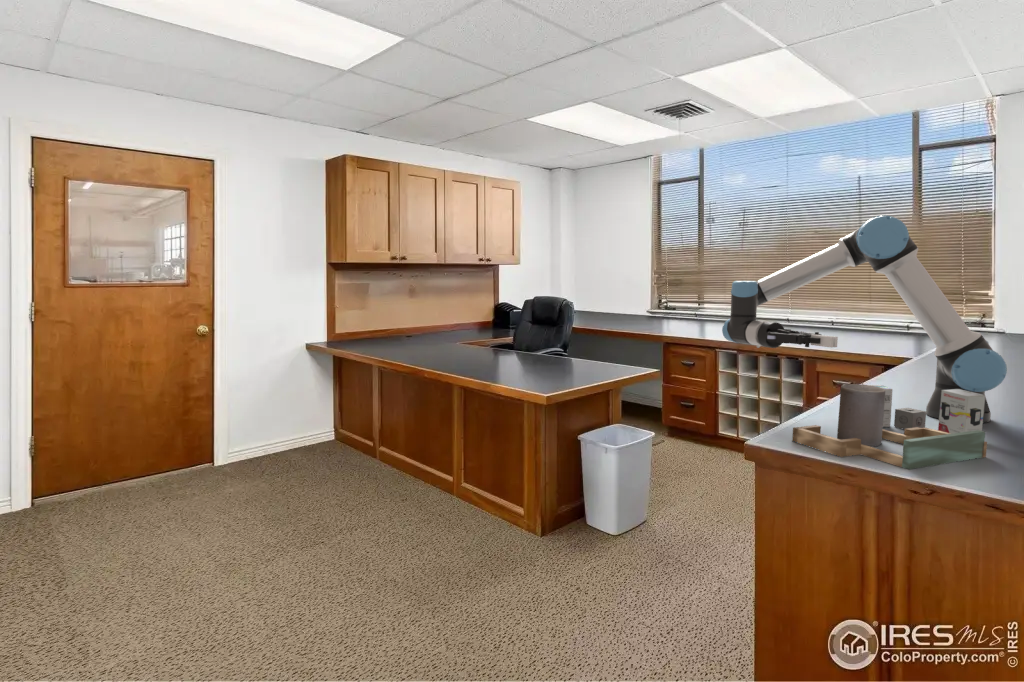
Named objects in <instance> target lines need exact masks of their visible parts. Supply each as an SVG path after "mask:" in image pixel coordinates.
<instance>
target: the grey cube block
mask: <svg viewBox="0 0 1024 682" xmlns="http://www.w3.org/2000/svg"><path fill="white" fill-rule="evenodd" d="M926 418H927V414H926V410H920V409H916V408H912V407H911V408H910V407H902V408H895V409H894V421H893V422H894V424H893V427H894V426H895V427H894V428H897V427H899V428H898V429H901V428H903V429H902V430H905V429H907V428H915V427H919V428H926V420H927V419H926Z"/></svg>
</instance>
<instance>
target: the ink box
mask: <svg viewBox="0 0 1024 682" xmlns="http://www.w3.org/2000/svg"><path fill="white" fill-rule="evenodd" d="M985 396H986V395H985ZM985 396H984V395H982V394H978V393H974V392H970V391H965V390H961V389H951V390H942V393H941V404H940V415H939V418H938V425H937V426H938V427H937V430H938V431H942V432H947V433H951V434H952V433H960V432H967V431H975V430H980V431H983V424H984V423H983V414H984V404H985Z"/></svg>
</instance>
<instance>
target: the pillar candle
mask: <svg viewBox="0 0 1024 682" xmlns="http://www.w3.org/2000/svg"><path fill="white" fill-rule="evenodd" d="M870 385H871V384H864V382H861V383H848V384H845V385H843V384H842V385H840V392H839V395H840V396H839V410H838V420H837V421H838V422H837V433H836V438H837V439H840V440H843V439H851V438H857V439H861V444H863V445H866V446H870V447H873V448H876V447H879V446H881V445H882V442H883V441H882V440H883V439H882V429H884V428H883V417H884V403H885V391H886V390H885V389H884V388H880V387H876V386H870Z"/></svg>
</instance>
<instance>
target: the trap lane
mask: <svg viewBox="0 0 1024 682" xmlns="http://www.w3.org/2000/svg"><path fill="white" fill-rule="evenodd" d="M821 429H822V426H820V425H819V424H818V425H817V424H813V425H806V426H797V427H792V440H791V441H792V442H793V441H795V442H794V443H796V442H798V443H797V444H799V443H801V444H800V445H802V444H804V445H803V446H805V445H807V446H806V447H808V446H810V447H809V448H811V447H813V448H812V449H814V448H816V449H815V450H817V449H819V450H818V451H821V450H822V451H821V452H824V451H826V452H825V453H827V452H828V454H830V453H831V454H830V455H833V454H834V455H833V456H836V455H837V457H839V456H840V457H839V458H845V457H851V456H852V455H853V456H858V455H859V456H865V457H867V458H870V459H875V460H878V461H881V462H884V463H887V464H891V465H893V466H897V467H900V468H902V469H907V470H913V469H918V468H925V467H932V466H938V465H945V464H952V463H957V462H956V461H958V462H964V461H969V459H970V460H976V459H975V458H977V459H984V458H986V457H987V449H988V441H985V440H986V439H985V437H986V431H984V430H982V431H980V430H975V431H967V432H960V433H952V434H951V433H947V432H942V431H938V429H937V430H936V429H933V428H930V427H925V428H919V427H915V428H907V429H904V433H899V432H895V431H891V430H887V429H885V428H883V429H882V438H883V439H882V440H886V439H887V440H886V441H889V440H890V441H889V442H893V441H894V442H893V443H897V442H898V444H901V443H902V444H901V445H903V448H902V455H900V454H897V453H893V452H890V451H886V450H883V449H879V448H876V447H870V446H866V445H863V444H861V439H857V438H851V439H843V440H840V439H837V437H833V436H830V435H826V434H824V433H821V432H822V431H821ZM844 456H845V457H844ZM963 460H964V461H963ZM944 463H945V464H944Z"/></svg>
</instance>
